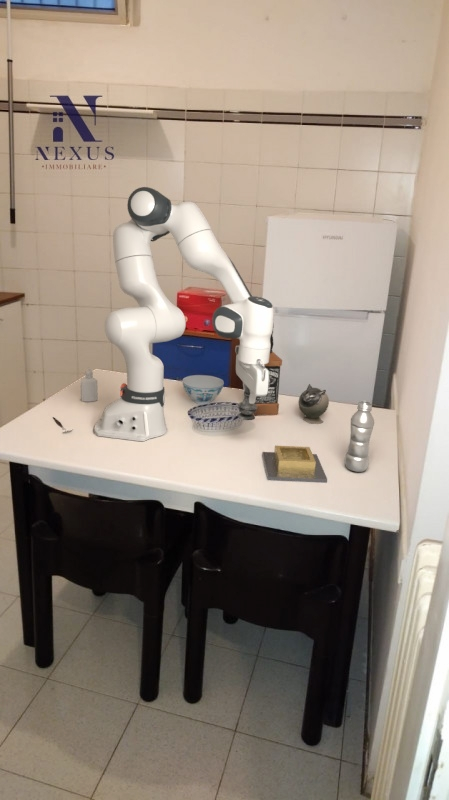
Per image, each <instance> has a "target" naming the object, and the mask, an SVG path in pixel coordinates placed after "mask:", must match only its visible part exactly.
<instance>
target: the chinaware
mask: <svg viewBox="0 0 449 800" xmlns="http://www.w3.org/2000/svg"><path fill="white" fill-rule="evenodd" d="M224 384H225V382H224V380H223V379H222V378H220V377H217V376H213V375H204V374H195V375H188V376H186V377H184V378H183V379H182V387H183V390H184V391H185V393H186V394H187V396H188V397H189V398H191V399H192V402H193V403H194V404H197V405H208V404H207V403H209V404H211V403H212V401H213V400H215V399H216V398H217V397H218V396H219V395H220V394H221V393H222V390H223V388H224Z"/></svg>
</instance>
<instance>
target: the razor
mask: <svg viewBox="0 0 449 800" xmlns="http://www.w3.org/2000/svg"><path fill="white" fill-rule="evenodd" d="M52 419H53V420H54V422H55V424H56V425H58V426H59V427H60V428H62V429H61V430H62V434H65V433H70V432H71V433H72V431H73V429H72V430H71V429H70V430H67V428H65V427H64V426H63V423H62V422H61V421H59V420H58V419H57V418H56V417H52Z"/></svg>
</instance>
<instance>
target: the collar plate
mask: <svg viewBox="0 0 449 800" xmlns="http://www.w3.org/2000/svg"><path fill="white" fill-rule="evenodd" d="M262 458H263V459H262V460H263V464H264V465H263V466H264V468H265V473H266V477H267V481H280V482H281V481H282V482H283V481H284V482H301V483H302V482H303V483H325V484H326V483H328V477H327V475H326V472H325V470H324V468H323V466H322V464H321V461H320V458H319V457H318V454H316V453H312V450H311V446H296V445H295V446H294V445H274V452H273V451H262Z"/></svg>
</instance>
